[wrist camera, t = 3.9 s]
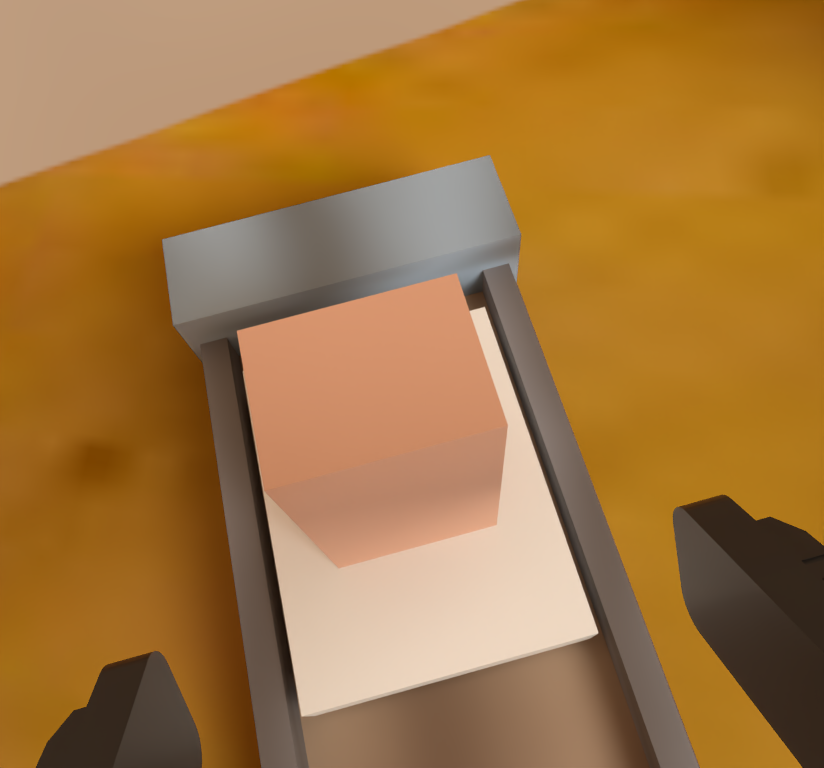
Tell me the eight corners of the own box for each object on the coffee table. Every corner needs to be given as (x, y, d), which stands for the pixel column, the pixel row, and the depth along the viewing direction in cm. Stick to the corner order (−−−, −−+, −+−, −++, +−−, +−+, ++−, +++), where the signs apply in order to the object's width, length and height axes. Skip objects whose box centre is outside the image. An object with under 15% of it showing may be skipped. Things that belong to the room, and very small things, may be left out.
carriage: (483, 332, 22) (488, 129, 14) (589, 638, 18) (672, 587, 10) (257, 392, 21) (137, 219, 14) (315, 716, 18) (194, 720, 10)
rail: (487, 235, 25) (489, 155, 21) (991, 1597, 12) (1203, 1961, 9) (208, 308, 25) (162, 239, 21) (435, 1782, 12) (417, 2238, 9)
